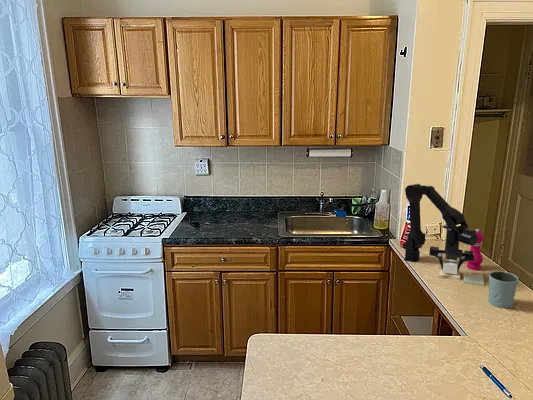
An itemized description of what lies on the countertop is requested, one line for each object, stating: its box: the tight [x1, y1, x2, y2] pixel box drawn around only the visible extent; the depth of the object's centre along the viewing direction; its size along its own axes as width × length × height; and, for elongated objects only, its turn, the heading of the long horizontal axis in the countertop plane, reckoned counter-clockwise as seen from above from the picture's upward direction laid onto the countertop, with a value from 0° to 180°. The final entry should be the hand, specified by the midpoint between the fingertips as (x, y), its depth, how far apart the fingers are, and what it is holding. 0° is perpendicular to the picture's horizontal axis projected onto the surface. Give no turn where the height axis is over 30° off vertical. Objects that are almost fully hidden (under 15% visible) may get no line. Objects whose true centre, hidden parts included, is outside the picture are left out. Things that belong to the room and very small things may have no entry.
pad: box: [462, 273, 485, 286], centre depth 179 cm, size 8×8×1 cm
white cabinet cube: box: [443, 258, 459, 275], centre depth 184 cm, size 6×6×5 cm
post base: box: [438, 266, 461, 281], centre depth 184 cm, size 9×9×6 cm
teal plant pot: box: [487, 270, 520, 309], centre depth 157 cm, size 10×10×12 cm
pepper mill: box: [465, 228, 485, 271], centre depth 190 cm, size 7×7×20 cm
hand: (449, 270), depth 185 cm, fingers closed on white cabinet cube, 6 cm apart
